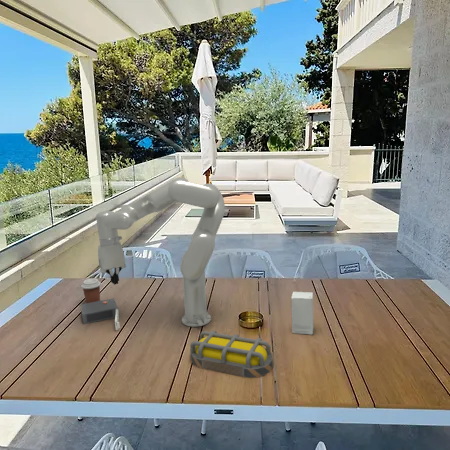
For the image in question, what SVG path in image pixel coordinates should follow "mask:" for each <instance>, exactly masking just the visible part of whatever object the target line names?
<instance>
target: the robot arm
mask: <svg viewBox="0 0 450 450" xmlns="http://www.w3.org/2000/svg"><path fill="white" fill-rule="evenodd" d="M178 202H179V203H182V204H186V205H190V206H195V207H199V208H202V209H203V211H202V214H201V216H200V219H199V221H198V224H197V225H196V228H195V230H194V232H193V234H192V236H191V241H190V243H189V245H188V248H187V250H186V251H185V252H184V253H183V254H182V256H181V261H180V272H181V275H182V290H183V301H184V302H183V305H184V315H183V316H182V317H181V322H182V324H183V325H185V326H187V327H192V328H196V327H197V328H198V327H203V326H206V325H207V324H209V323H210V322H211V321H212V316H211V315H210V314H209V313H208V306H207V305H208V304H207V292H206V291H207V288H206V285H207V283H206V268H207V267H208V263H209V261H210V260H211V257H212V254H213V253H214V250H215V246H216V236H217V234H218V231H219V228H220V226H221V224H222V221H223V218H224V214H225V210H226V209H225V208H226V206H225V205H226V204H225V199H224V196H223V195H222V192H221V191H220V190H219V188H218V187H217V186H216V185H215V184H212V183H204V184H199V183H198V184H197V183H194V182H192V181H191V182H189V180H188V179H186V178H185V177H180V176H179V177H176V178H174V179H172V180H170V181H169V182H167V183H165V184H164V185H161V186H159V187H158V188H156V189H155V190H152V191H151V192H149V193H147V194H145V195H144V196H143V197H141V198H139V199H138V200H136V201H133V202H132V203H130V204H128V205H127V206H124V208H122V209H120V210H119V211H117V212H114V211H112V210H104V211H99V212H98V213H96V215H95V219H96V226H97V232H98V238H99V245H98V247H97V258H98V259H97V260H98V266H99V272H100V273H101V274H108V275H109V277H110V282H111V283H112V285H114V286H115V285H118V284H119V281H120V278H119V277H120V276H119V274H120V272H121V271H122V270H124V268H125V269H126V268H127V265H126V258H125V252H124V249H123V245H122V243H121V240H122V239H123V238H122V237H123V236H121V235H120V236H119V233H118V232H119V231H118V230H120V231H121V230H123V231H124V230H129V229H130V228H131V227H132V226H133V225H134V223H136V222H137V221H139V220H141V219H143V218H145V217H147V216H149V215H151V214H155V213H158V212H162V211H163V210H165V209H167V208H169V207H171V206H173V205H174V204H176V203H178ZM113 269H114V271H113Z"/></svg>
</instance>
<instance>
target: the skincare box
mask: <svg viewBox="0 0 450 450" xmlns="http://www.w3.org/2000/svg"><path fill="white" fill-rule="evenodd" d="M290 299H291V302H290V303H291V330H292V331H291V332H292V334H299V335H313V334H314V324H315V323H314V292H311V291H310V292H309V291H307V292H306V291H292V294H291V298H290Z"/></svg>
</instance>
